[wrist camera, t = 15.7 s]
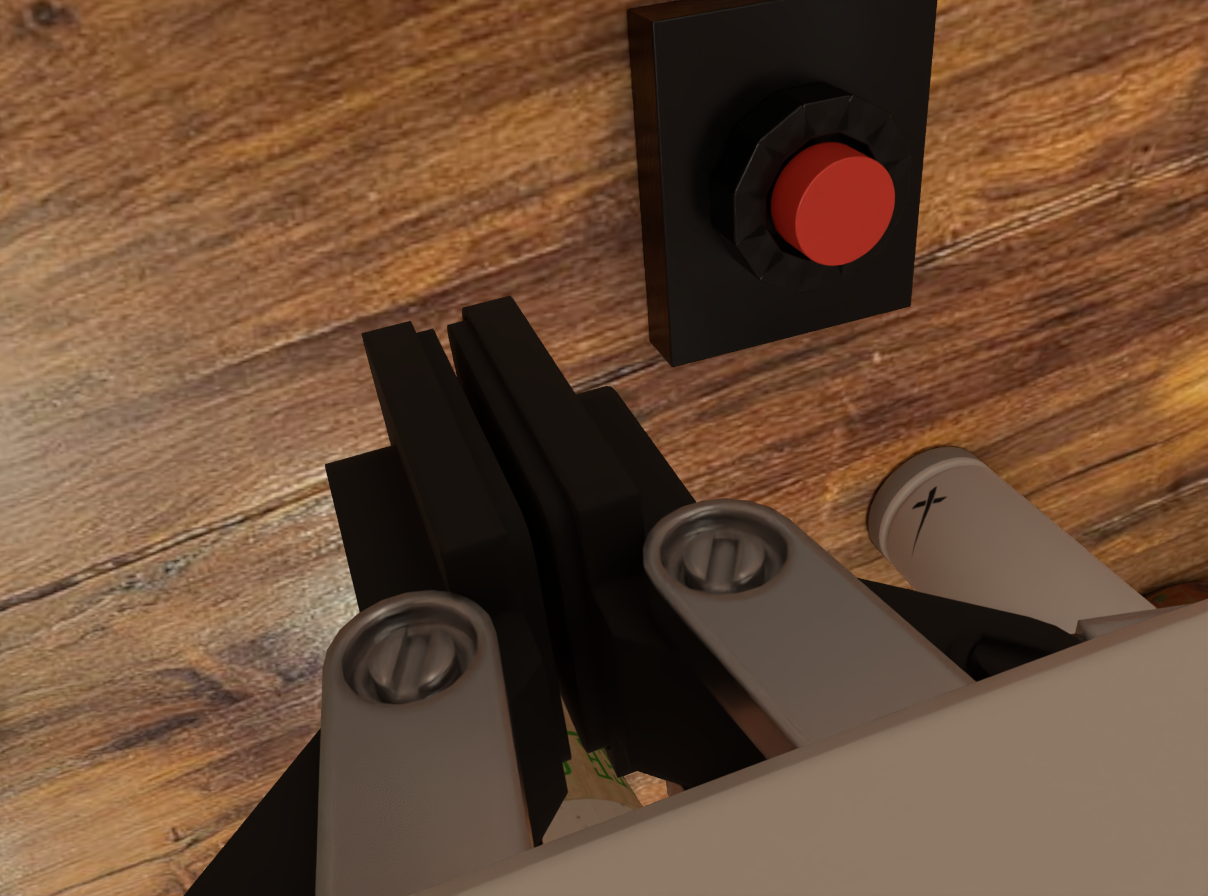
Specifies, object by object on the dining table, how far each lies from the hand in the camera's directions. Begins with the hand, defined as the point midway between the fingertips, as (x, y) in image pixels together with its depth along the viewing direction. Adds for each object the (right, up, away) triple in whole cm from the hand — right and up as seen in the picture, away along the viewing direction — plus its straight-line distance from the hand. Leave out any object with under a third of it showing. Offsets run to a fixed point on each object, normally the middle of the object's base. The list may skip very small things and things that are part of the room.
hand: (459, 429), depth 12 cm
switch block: (+8, +10, +26) cm, 29 cm away
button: (+9, +8, +23) cm, 26 cm away
